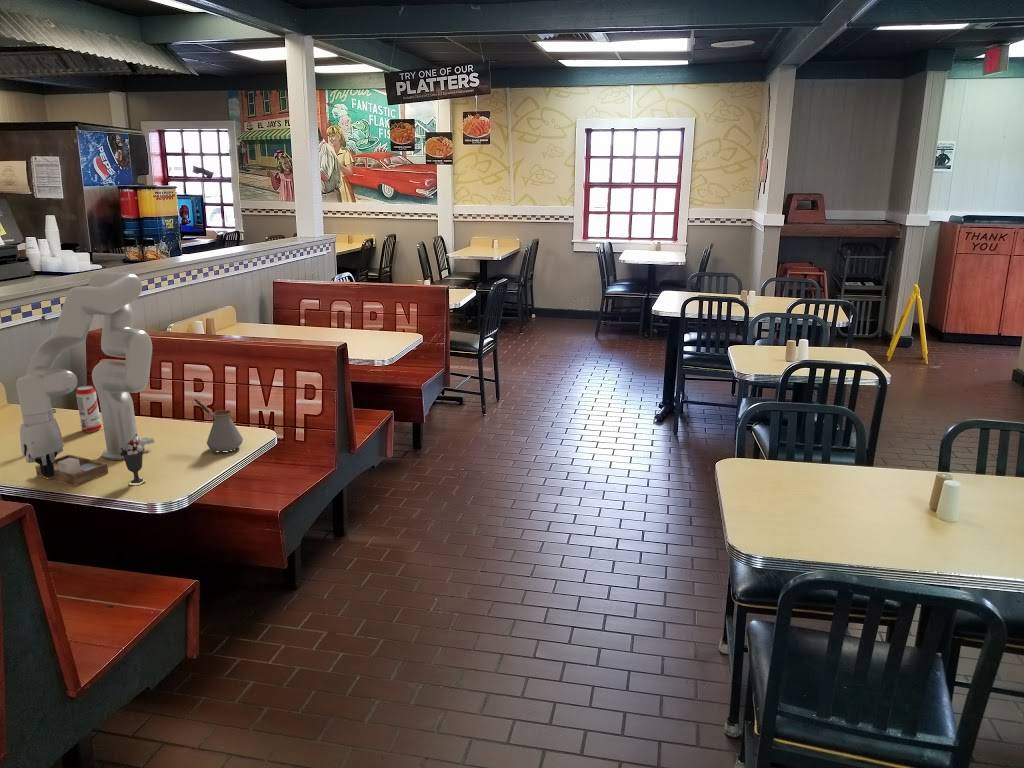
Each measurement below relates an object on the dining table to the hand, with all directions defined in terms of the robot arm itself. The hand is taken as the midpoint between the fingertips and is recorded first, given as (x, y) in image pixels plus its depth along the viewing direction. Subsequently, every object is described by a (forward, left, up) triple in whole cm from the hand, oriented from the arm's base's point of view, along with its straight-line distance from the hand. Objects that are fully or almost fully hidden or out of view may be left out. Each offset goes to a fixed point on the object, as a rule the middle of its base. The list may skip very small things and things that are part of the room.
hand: (48, 475), depth 227 cm
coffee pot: (-50, -3, -4) cm, 51 cm away
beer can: (-21, -48, -4) cm, 52 cm away
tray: (-7, -7, -4) cm, 10 cm away
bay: (-11, -5, -4) cm, 12 cm away
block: (-6, -2, -2) cm, 7 cm away
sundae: (-21, +12, -4) cm, 25 cm away
